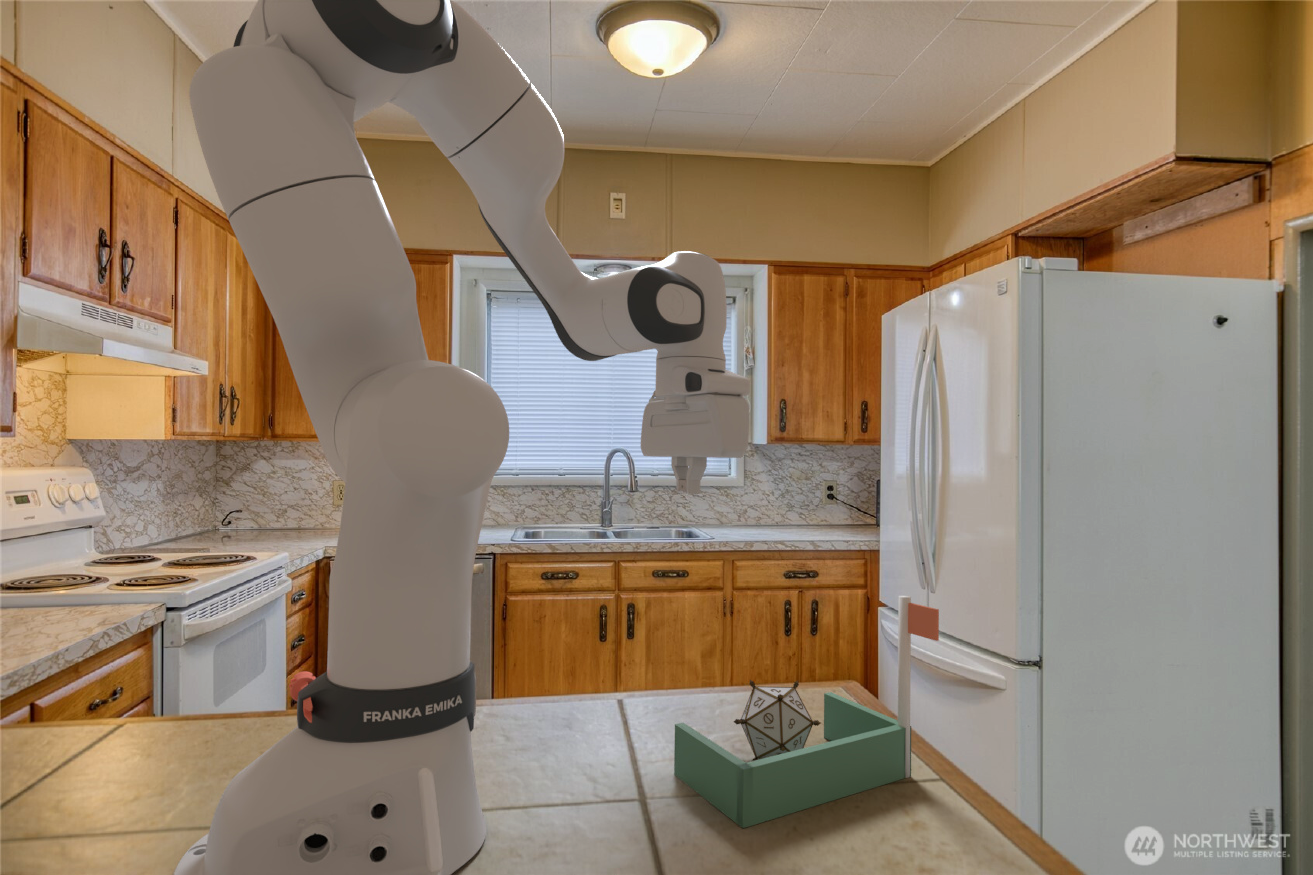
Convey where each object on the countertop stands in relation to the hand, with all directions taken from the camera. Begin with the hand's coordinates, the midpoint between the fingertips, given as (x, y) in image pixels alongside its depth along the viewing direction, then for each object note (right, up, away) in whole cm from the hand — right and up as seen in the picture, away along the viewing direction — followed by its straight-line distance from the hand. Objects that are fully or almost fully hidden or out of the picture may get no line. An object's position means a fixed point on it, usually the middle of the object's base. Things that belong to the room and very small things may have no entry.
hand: (688, 493), depth 88 cm
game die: (+9, -27, -14) cm, 32 cm away
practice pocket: (+11, -27, -19) cm, 35 cm away
